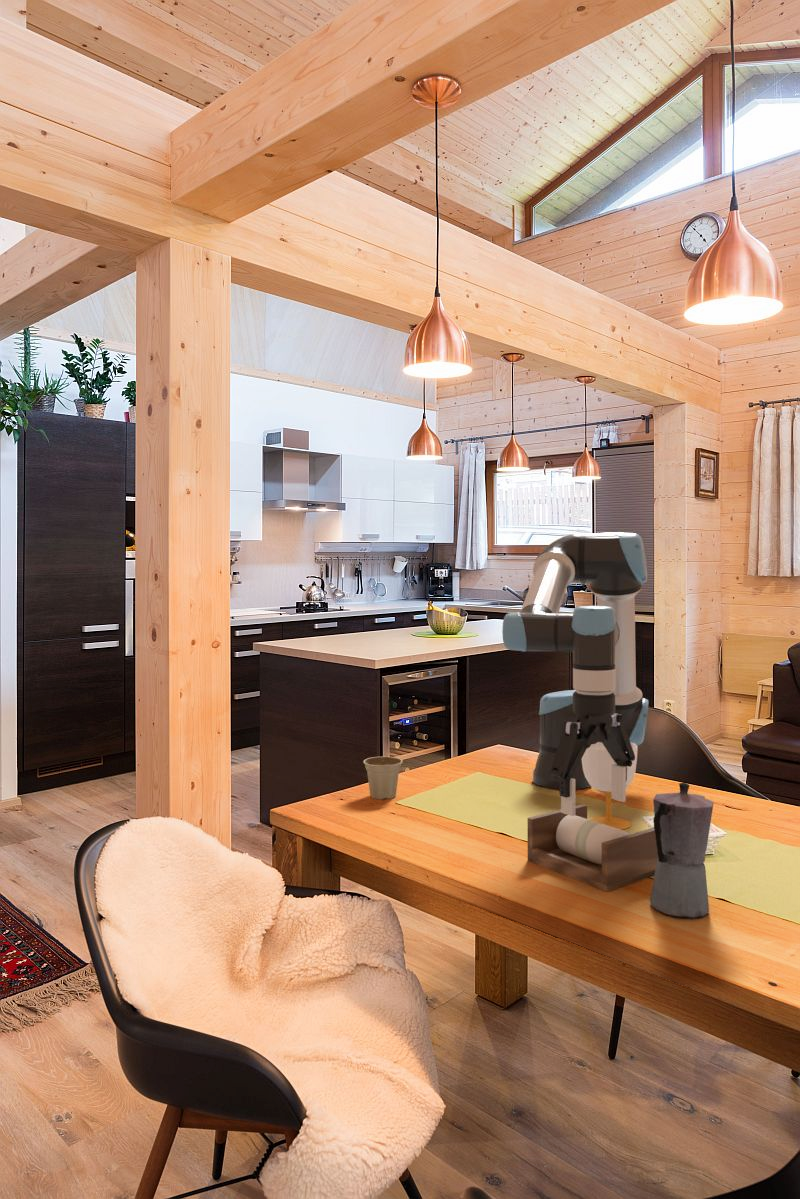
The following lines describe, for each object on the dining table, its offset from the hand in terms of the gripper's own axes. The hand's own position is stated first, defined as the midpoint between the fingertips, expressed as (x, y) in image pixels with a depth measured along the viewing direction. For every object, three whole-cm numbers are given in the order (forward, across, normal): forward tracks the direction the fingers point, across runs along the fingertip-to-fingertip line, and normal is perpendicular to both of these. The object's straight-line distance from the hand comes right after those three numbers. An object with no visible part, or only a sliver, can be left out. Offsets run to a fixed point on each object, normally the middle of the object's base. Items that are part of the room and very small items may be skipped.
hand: (594, 807), depth 149 cm
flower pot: (+12, +5, -62) cm, 63 cm away
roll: (+10, +1, 0) cm, 10 cm away
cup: (+12, -21, -15) cm, 28 cm away
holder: (+11, 0, 0) cm, 11 cm away
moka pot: (+11, +4, +21) cm, 24 cm away
